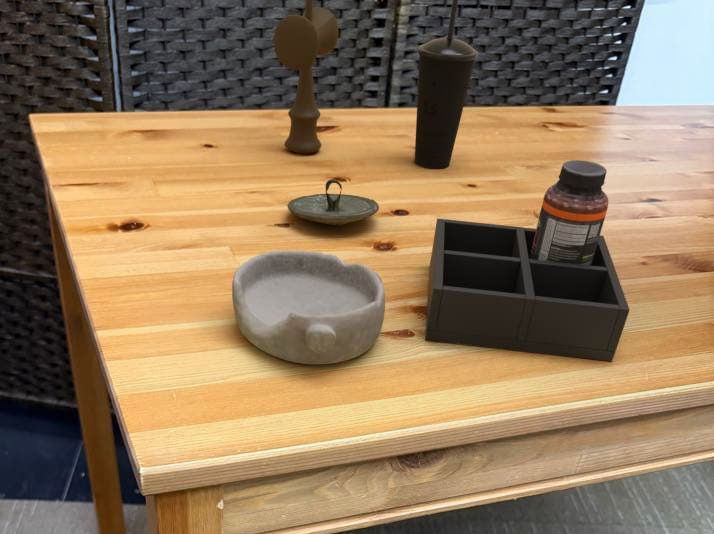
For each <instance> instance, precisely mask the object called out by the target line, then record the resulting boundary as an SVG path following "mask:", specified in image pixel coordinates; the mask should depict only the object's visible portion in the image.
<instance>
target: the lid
mask: <svg viewBox="0 0 714 534" xmlns="http://www.w3.org/2000/svg"><path fill="white" fill-rule="evenodd" d="M332 184H336V185H338V187H339V190H340V191H339V193H328V190H329V189H330V186H331V185H332ZM342 188H343V186H342V184H341V183H340V181H338V180H337V179H334V178H333V179H328V180H327V181H326V183H325V193H316V194H315V193H314V194H310V195H302V196H298V197H296V198H293V199H292V200H291V201H289V202H288V204H286V205H287V206H286V207H287V209H288V211H289V212H290V213H291V214H293V215H294V216H296V217H298V218H302V219H304V220H307V221H311V222H315V223H320V224H325V225H330V226H337V227H338V226H343V225H346V224H349V223H354V222H357V221H360V220H363V219H366V218H369V217H372V216H373V215H375V214H376V213H378V212H379V210H380V206H379V203H378V202H376V201H375V200H374V199H371V198H368V197H363V196H359V195H354V194H344V193H342V190H343V189H342Z"/></svg>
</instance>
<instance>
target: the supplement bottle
mask: <svg viewBox="0 0 714 534" xmlns="http://www.w3.org/2000/svg"><path fill="white" fill-rule="evenodd" d="M606 176H607V168H606V167H605V166H603V165H601V164H600V163H597V162H593V161H588V160H578V159H574V160H573V159H571V160H567V161H565V162H564V163H562V166H561V169H560V172H559V175H558V181H557V182H556V183H555V184H552V185H551V186H550V187H548V189H546V191H545V193H544V195H543V199H542V204H541V207H540V211H539V216H538V220H537V226H536V228H535V229H536V233H535V237H534V242H533V246H532V250H531V254H530V259H534V260H543V261H552V262H562V263H571V264H580V265H590V266H591V264H592V260H593V257H594V253H595V250H596V247H597V243H598V240H599V237H600V235H601V233H602V229H603V226H604V222H605V219H606V215H607V212H608V207H609V197H608V195H607V194H606V193H605V191H603V188H602V187H603V186H604V185H605V180H606Z"/></svg>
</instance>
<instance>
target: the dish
mask: <svg viewBox="0 0 714 534" xmlns="http://www.w3.org/2000/svg"><path fill="white" fill-rule="evenodd" d="M231 282H232V283H231V299H232V306H233V307H232V308H233V312H234V316H235V319H236V323H237V326H238V328H239V330H240V332H241V333H242V335H243V336H244V337H245V339H247V340H248V341H249V342H250V343H251V344H252V345H254V346H255V347H256V348H258V349H260V350H261V351H263V352H266V353H267V354H269V355H271V356H273V357H276V358H279V359H282V360H285V361H288V362H291V363H298V364H305V365H329V364H330V365H331V364H336V363H341V362H346V361H348V360H351V359H354V358H356V357H359V356H361V355H363V354H364V353H366V352H367V351H368V350H369V349H371V348H372V347H373V346H374V345H375V343H376V342H377V340H378V339H379V336H380V334H381V331H382V328H383V323H384V320H385V319H384V317H385V312H386V311H385V309H386V292H385V288H384V284H383V280H382V277H381V276H380V274H379V273H378V272H376V271H374V270H372V268H370V267H369V266H367V265H365V264H364V263H361V262H358V263H349V262H346V261H344V260H342V259H340V258H339V256H337V255H335V254H333V253H332V254H331V253H328V254H327V253H323V252H321V251H306V250H272V251H268V252H264V253H260V254H257V255H256V256H253V257H251V258H249V259H247V260H245V262H242V264H241V265H239V267H238V268H237V269H236V270H235V272H234V275H233V277H232V281H231Z"/></svg>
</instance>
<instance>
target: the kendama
mask: <svg viewBox="0 0 714 534" xmlns="http://www.w3.org/2000/svg"><path fill="white" fill-rule="evenodd" d="M339 34H340V33H339V23H338V21H337V19H336V15H335V14H334V13H332V12H331V11H330V10H329V9H327V8H324V7H321V6H315V7H314V0H305V10H304V12H303V14H302V15H299V14H290V15H289V14H288V15H286V16H285V17H283V18H282V19H280V20H279V21H278V23H277V25H276V27H275V29H274V35H273V49H274V53H275V55H276V57H277V60H278V62H279V63H281V64H282V65H283V66H284V67H286V68H287V69H290V70H293V71H299V74H298V82H297V87H296V93H295V98H294V101H293V105H292V106H291V108H290V109H289V110H288V112H287V114H288V117H289V118H290V129H289V134H288V137H287V138H286V140H285V141H284V147H285V148H286V149H287V150H289V151H291V152H293V153H298V154H312V153H315V152H317V151H319V150H320V149H321V148H322V143H321V141H320V139H319V137H318V133H317V132H318V131H317V130H318V129H317V126H318V120H319V119H320V117H321V112H320V110H319V109H318V107H317V103H316V99H315V97H316V96H315V88H314V87H315V86H314V73H313V64H314V63H315V61H316V59H317V58H318V56H326V55H328V54H330V53H332V52H333V50H334V49H335V47H336V46H337V44H338V39H339Z"/></svg>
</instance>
